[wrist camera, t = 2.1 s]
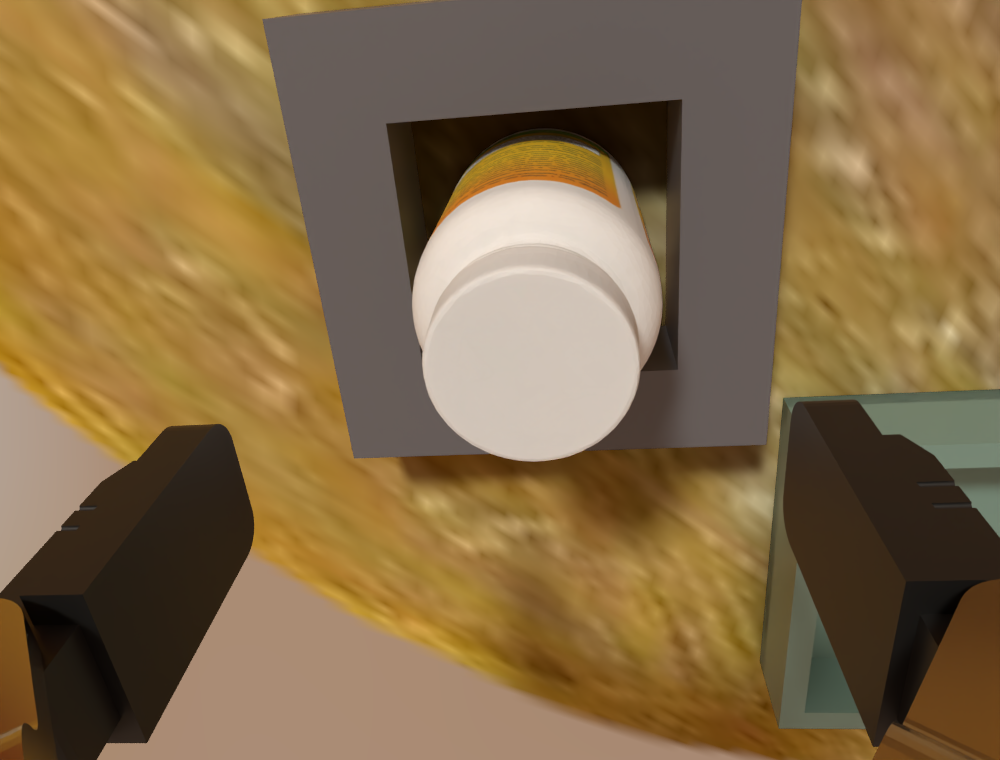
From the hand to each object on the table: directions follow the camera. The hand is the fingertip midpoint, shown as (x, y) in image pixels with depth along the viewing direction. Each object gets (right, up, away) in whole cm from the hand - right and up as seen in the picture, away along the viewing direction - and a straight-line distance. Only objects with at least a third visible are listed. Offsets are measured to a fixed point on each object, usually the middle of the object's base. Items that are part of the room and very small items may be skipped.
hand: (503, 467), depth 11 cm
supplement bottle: (+1, +6, +12) cm, 13 cm away
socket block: (+1, +6, +11) cm, 13 cm away
